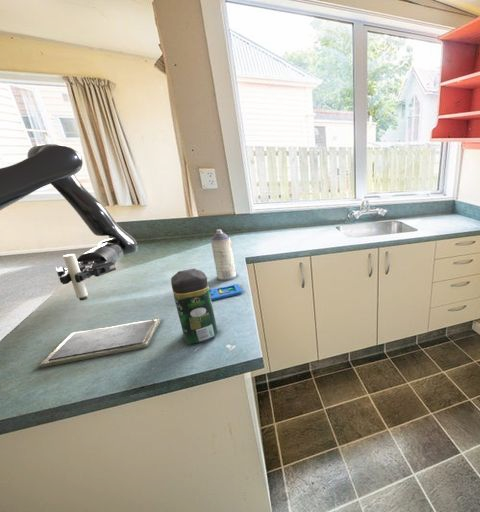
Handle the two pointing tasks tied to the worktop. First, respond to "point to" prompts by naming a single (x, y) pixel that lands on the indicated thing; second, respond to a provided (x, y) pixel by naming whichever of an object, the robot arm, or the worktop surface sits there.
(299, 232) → the worktop surface
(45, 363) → the chalkboard
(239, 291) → the handheld gaming device
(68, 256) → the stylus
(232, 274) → the aerosol can
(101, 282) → the worktop surface
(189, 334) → the coffee jar
